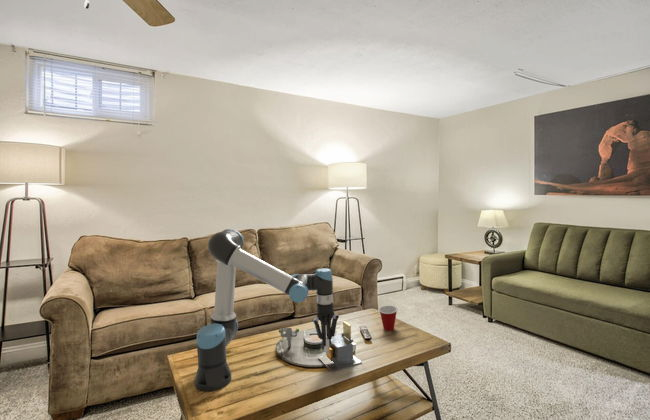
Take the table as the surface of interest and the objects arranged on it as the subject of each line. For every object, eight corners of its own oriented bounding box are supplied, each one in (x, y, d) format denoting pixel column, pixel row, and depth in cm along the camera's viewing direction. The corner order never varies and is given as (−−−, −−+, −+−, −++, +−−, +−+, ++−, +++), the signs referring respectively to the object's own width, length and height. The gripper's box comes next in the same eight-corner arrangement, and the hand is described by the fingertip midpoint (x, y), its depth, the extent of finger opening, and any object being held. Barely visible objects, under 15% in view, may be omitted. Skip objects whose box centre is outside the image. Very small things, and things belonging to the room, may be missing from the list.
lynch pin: (330, 359, 157) (330, 349, 157) (326, 355, 162) (325, 345, 161) (357, 352, 164) (356, 342, 163) (351, 348, 168) (351, 338, 168)
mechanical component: (299, 348, 176) (298, 329, 175) (279, 349, 176) (278, 330, 176) (299, 346, 179) (298, 327, 178) (280, 346, 179) (279, 327, 179)
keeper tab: (351, 339, 161) (349, 340, 161) (344, 335, 167) (343, 335, 166) (350, 325, 161) (349, 325, 160) (344, 321, 166) (343, 321, 166)
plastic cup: (375, 328, 198) (374, 308, 198) (388, 323, 205) (388, 304, 204) (388, 334, 190) (387, 313, 189) (401, 329, 196) (401, 309, 195)
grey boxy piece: (331, 372, 153) (330, 348, 152) (318, 358, 165) (317, 336, 164) (361, 363, 160) (361, 339, 159) (346, 350, 172) (346, 329, 171)
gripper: (315, 307, 151) (317, 359, 153) (341, 302, 157) (343, 352, 158) (308, 302, 158) (310, 352, 160) (333, 297, 164) (335, 345, 165)
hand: (326, 352), depth 159 cm, fingers closed
